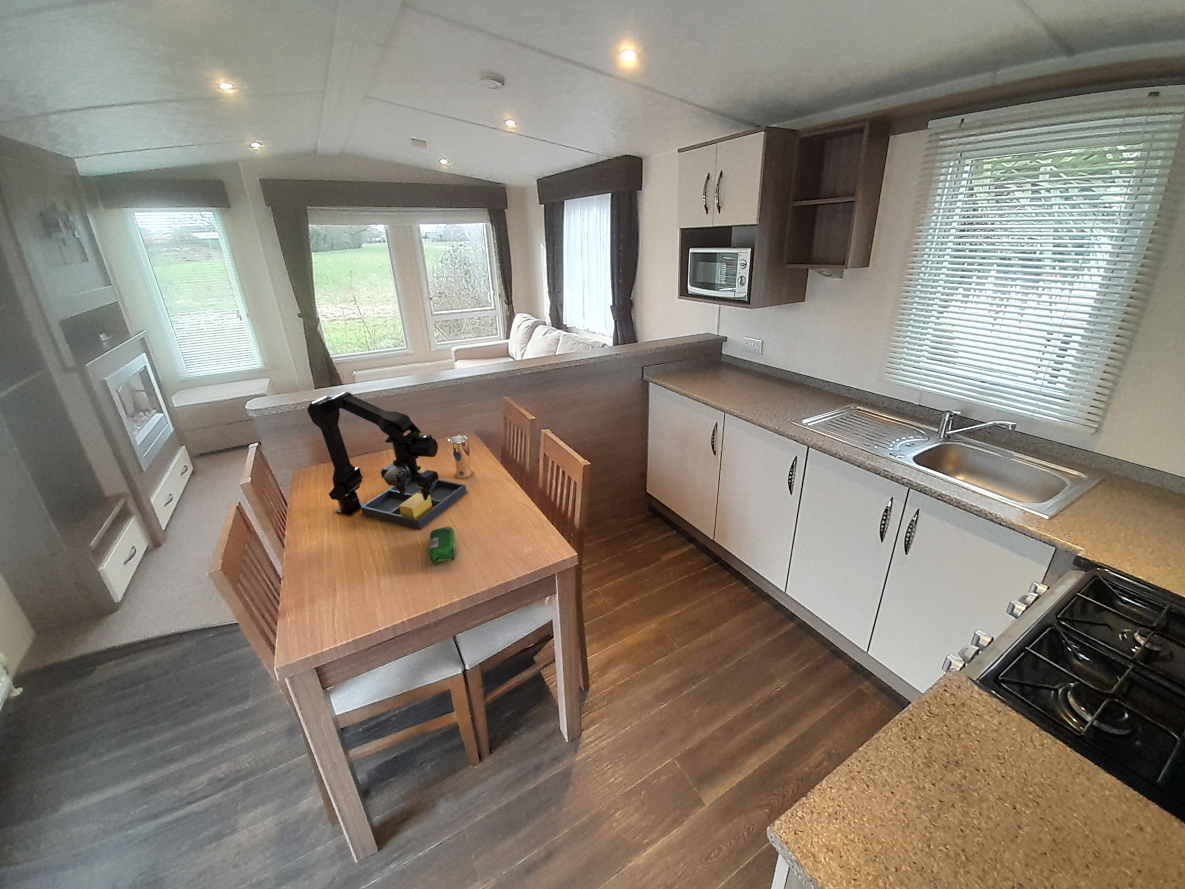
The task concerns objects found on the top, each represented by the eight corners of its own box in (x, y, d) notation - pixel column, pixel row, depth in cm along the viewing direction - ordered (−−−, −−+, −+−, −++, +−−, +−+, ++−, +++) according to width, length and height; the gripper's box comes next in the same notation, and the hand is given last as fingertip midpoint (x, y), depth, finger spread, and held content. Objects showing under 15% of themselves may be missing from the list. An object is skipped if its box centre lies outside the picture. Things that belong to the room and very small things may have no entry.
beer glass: (477, 472, 184) (471, 437, 178) (463, 480, 179) (457, 444, 172) (464, 468, 187) (458, 433, 181) (450, 476, 182) (444, 440, 176)
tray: (362, 514, 159) (360, 506, 158) (413, 481, 180) (411, 473, 178) (420, 529, 151) (418, 521, 149) (466, 492, 171) (465, 484, 170)
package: (401, 518, 155) (398, 505, 153) (419, 505, 162) (417, 492, 160) (415, 521, 153) (412, 508, 151) (432, 508, 160) (430, 495, 158)
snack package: (430, 571, 132) (426, 556, 130) (432, 539, 146) (429, 524, 143) (456, 567, 133) (453, 552, 131) (455, 535, 147) (453, 521, 145)
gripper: (362, 461, 145) (374, 504, 152) (410, 470, 138) (420, 515, 145) (389, 446, 154) (399, 488, 161) (435, 454, 148) (443, 497, 154)
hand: (414, 497), depth 155 cm, fingers open, 9 cm apart
